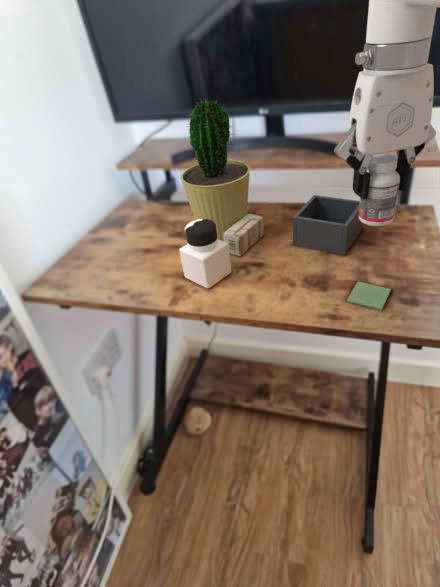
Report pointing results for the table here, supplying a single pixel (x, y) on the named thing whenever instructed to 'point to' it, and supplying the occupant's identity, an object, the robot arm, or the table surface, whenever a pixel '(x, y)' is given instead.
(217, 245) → the medicine bottle
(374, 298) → the mat
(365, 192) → the robot arm
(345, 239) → the tub
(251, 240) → the small printed carton
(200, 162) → the potted cactus
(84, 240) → the table surface
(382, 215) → the pill bottle
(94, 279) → the table surface
